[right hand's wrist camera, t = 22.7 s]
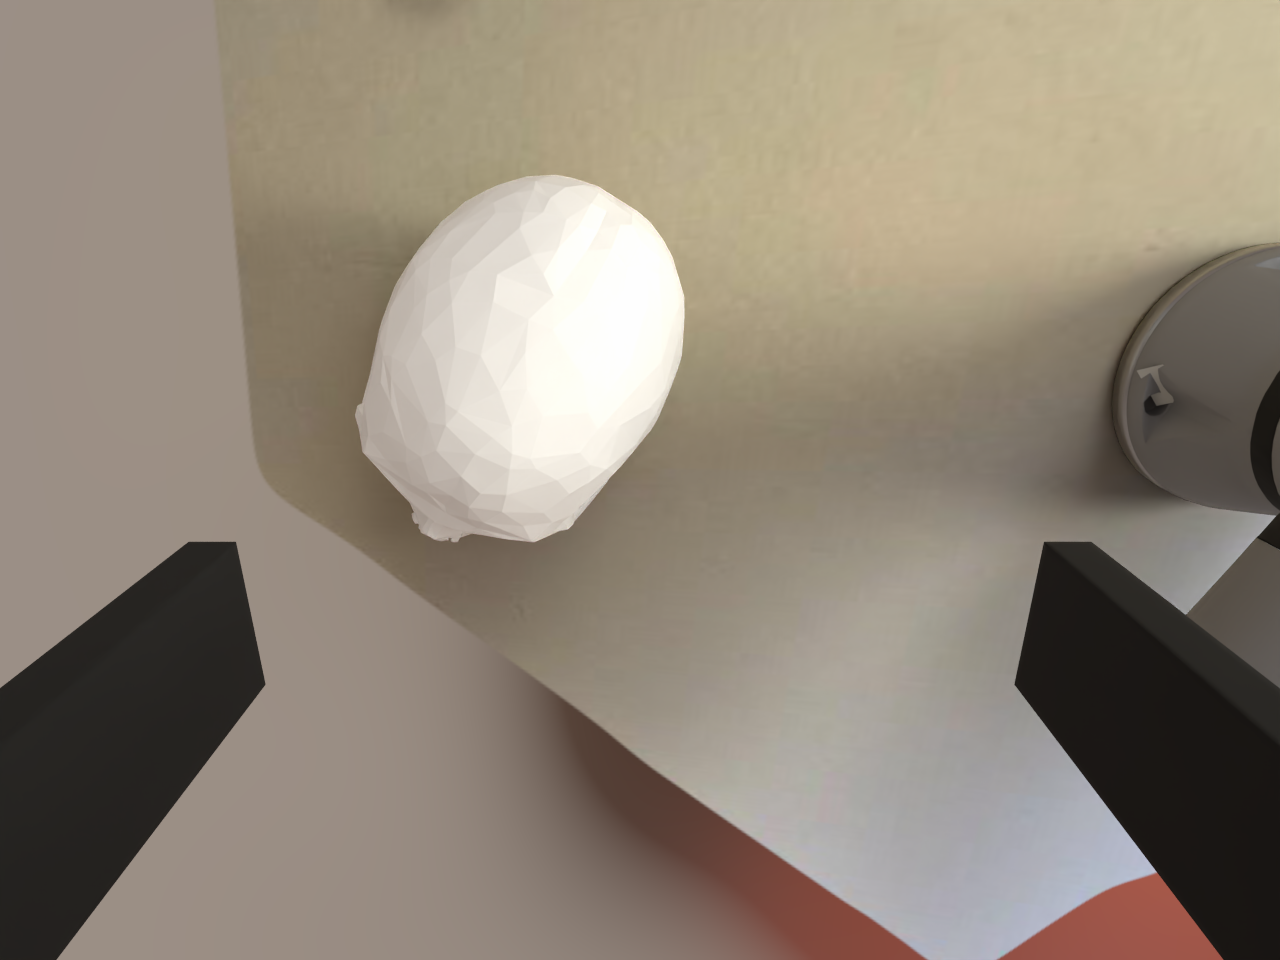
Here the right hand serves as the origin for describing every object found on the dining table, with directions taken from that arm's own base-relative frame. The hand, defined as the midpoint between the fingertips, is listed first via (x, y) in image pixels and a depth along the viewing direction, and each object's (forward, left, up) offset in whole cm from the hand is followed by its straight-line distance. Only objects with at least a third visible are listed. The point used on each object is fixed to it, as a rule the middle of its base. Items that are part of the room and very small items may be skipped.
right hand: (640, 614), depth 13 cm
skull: (+6, -3, -33) cm, 34 cm away
